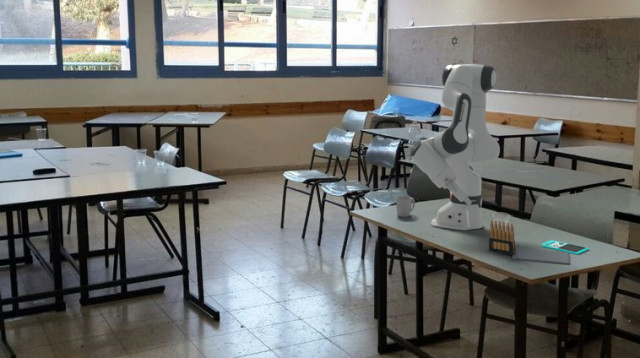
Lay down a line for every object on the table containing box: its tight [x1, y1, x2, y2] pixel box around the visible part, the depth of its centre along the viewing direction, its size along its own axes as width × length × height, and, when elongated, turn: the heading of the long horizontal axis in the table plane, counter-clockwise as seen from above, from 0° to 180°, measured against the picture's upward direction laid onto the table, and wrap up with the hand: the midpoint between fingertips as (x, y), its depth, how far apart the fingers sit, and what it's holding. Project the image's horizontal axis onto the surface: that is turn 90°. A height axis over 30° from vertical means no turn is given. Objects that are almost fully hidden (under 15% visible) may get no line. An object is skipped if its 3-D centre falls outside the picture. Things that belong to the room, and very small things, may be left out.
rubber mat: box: [511, 247, 571, 265], centre depth 253 cm, size 20×14×1 cm
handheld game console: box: [541, 239, 590, 256], centre depth 264 cm, size 10×16×1 cm, turn 43°
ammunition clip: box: [488, 219, 516, 256], centre depth 256 cm, size 11×2×12 cm, turn 41°
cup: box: [395, 195, 416, 218], centre depth 315 cm, size 8×10×8 cm
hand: (469, 202), depth 254 cm, fingers closed
